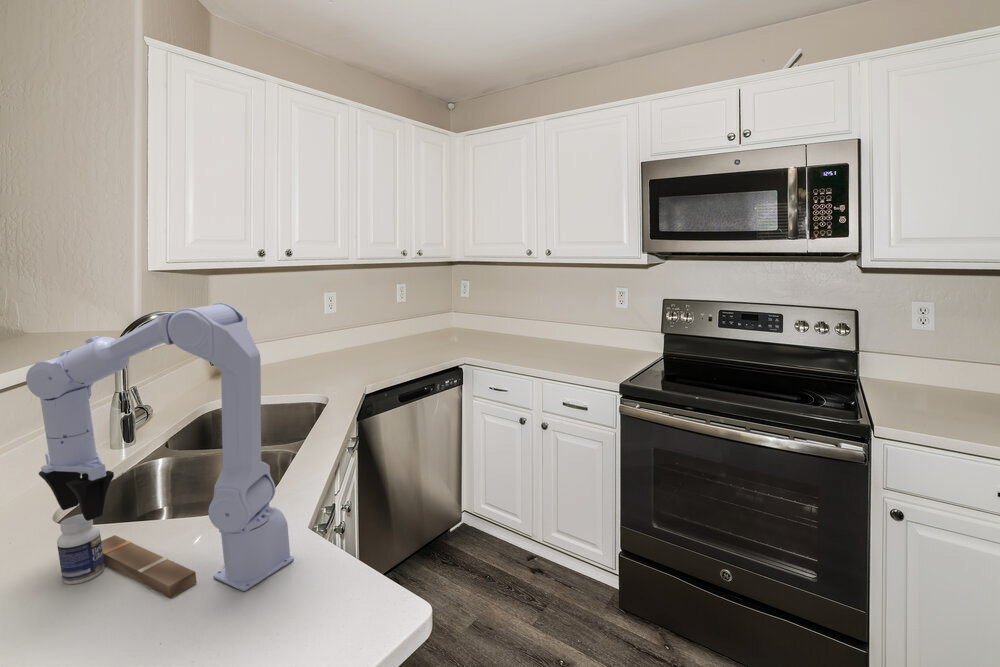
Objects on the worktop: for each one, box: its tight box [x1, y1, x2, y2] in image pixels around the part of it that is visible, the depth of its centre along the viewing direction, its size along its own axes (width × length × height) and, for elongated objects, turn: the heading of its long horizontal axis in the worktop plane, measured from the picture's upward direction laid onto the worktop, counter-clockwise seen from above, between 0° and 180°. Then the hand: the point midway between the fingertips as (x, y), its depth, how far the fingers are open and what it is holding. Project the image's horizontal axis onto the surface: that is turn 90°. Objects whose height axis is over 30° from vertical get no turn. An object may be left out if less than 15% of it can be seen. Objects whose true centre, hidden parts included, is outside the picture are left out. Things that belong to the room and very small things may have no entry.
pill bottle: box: [56, 513, 105, 585], centre depth 82 cm, size 5×5×10 cm
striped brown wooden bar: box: [101, 535, 198, 599], centre depth 84 cm, size 4×24×2 cm, turn 62°
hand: (81, 512), depth 82 cm, fingers open, 7 cm apart
